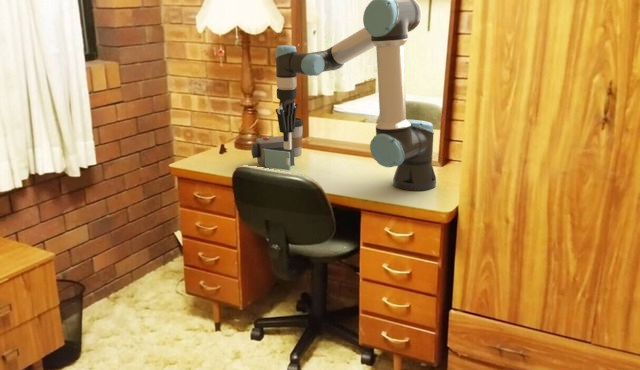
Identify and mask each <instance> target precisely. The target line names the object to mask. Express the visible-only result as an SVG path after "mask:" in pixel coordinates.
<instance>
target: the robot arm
mask: <svg viewBox="0 0 640 370" xmlns="http://www.w3.org/2000/svg"><path fill="white" fill-rule="evenodd" d="M422 14H423V13H422V8H421V5H420V3H419V2H418V1H417V0H371V1H370V2H369V3H368V5H367V6H366V7H365V9H364V11H363V18H362V21H363V26H364V27H363V28H361V29H360V30H358V31H356V32H354V33H353V34H351V35H349V36H347V37H346V38H344V39H343V40H341V41H339V42H338V43H336V44H334V45H333V46H331V47H329V48H327V49H325V50H320V51H314V52H313V51H312V52H307V53H306V52H298V51H297V47H296V46H295V45H290V44H287V45H286V44H285V45H284V44H283V45H278V46H276V48H275V70H276V73H275V75H276V79H275V80H276V87H277V88H276V98H277V99H278V100H279V103H278V106H279V107H278V108H276V109H275V113H276V115H277V116H276V117H277V122H278V128H279V129H278V130H279V132H280V133H282V134H283V135H282V136H283V140H284V149H287V150H291V149H292V134H291V132H294V130H293V129H295V121H296V118H297V110H298V106H299V104H298V103H295V99H297V95H298V90H297V85H298V84H297V74H298V75H303V76H304V75H305V76H310V77H312V76H315V77H317V76H320V75H321V74H322V73H323V72H324V73H325V72H329V71H337V70H338V69H341V68H343V66H344V65H345V64H346V63H348V62H349V61H351V60H353V59H355V58H356V57H358V56H360V55H362V54H364V53H366V52H368V51H369V50H371V49H373V48H375V47H376V64H377V83H378V85H377V86H378V104H379V105H378V107H379V108H378V109H379V122H378V123H377V124H376V125H375V135H374V136H373V137H372V139H371V141H370V143H369V149H370V153H371V154H370V155H371V156H372V157H373V158H372V159H374V161H376V162H377V164H378V165H379V166H382V167H384V168H394V167H396V169H395V172H394V175H393V179H392V181H393V182H392V184H393V186H395V187H396V188H399V189H402V190H406V191H419V192H420V191H426V190H428V191H429V190H431V189H434V188H435V187H436V186H437V176H436V174H435V170H434V167H433V152H434V151H433V148H434V134H435V133H434V124H433V123H432V122H430V121H426V120H419V119H418V120H417V119H407V112H406V111H407V108H406V107H407V105H406V104H407V103H406V82H405V56H404V55H405V54H404V52H405V50H404V45H405V43H406V42H407V41H408V40H409V32H412V31H413V30H416V28H417V27H418V26H419V24H420V22H421V20H422V16H423V15H422Z"/></svg>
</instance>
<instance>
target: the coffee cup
mask: <svg viewBox="0 0 640 370" xmlns="http://www.w3.org/2000/svg"><path fill="white" fill-rule="evenodd" d="M303 126H304V122H303V119H302V118H301V117H300V118H299V117H296V121H295V129H293V130H294V132H291V134H292V140H293V141H294V158H295V157H300V156H301V155H302V151H303V150H302V148H303Z"/></svg>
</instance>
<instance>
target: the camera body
mask: <svg viewBox="0 0 640 370" xmlns="http://www.w3.org/2000/svg"><path fill="white" fill-rule="evenodd" d="M255 141H256V142H255V143H252V144H251V146H250V147H251V149H250V151H251V156H252V159H256V161H257V164H258V165H259V167H262V148H264V149H269V150H277V151H285V152H290V165H291V166H295V157H294V141H293V140H292V149H291V150H287V149H284V140H283V135H279V136H278V135H277V136H269V135H268V136H267V135H265V136H262V137H257V138H256V139H255ZM267 169H269V167H268V168H267Z"/></svg>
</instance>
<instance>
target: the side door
mask: <svg viewBox="0 0 640 370" xmlns="http://www.w3.org/2000/svg"><path fill="white" fill-rule="evenodd" d="M291 166H292V165H290V152H285V151H277V150H269V149H264V148H262V167H269V168H270V169H277V170H285V171H291V169H292V168H291ZM269 168H268V169H269Z"/></svg>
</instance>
